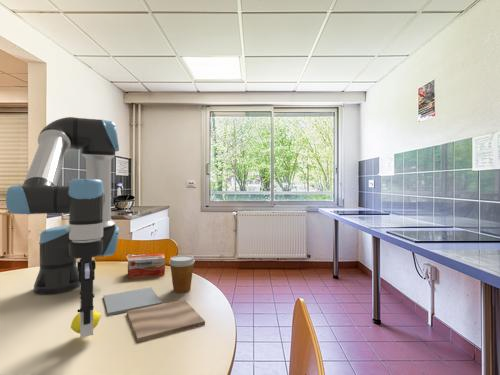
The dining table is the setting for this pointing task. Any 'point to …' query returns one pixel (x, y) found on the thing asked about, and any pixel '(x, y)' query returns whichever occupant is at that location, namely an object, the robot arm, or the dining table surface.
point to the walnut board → (163, 319)
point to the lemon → (76, 321)
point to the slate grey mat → (130, 300)
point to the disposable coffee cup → (181, 272)
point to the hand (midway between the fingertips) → (86, 329)
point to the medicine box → (146, 265)
